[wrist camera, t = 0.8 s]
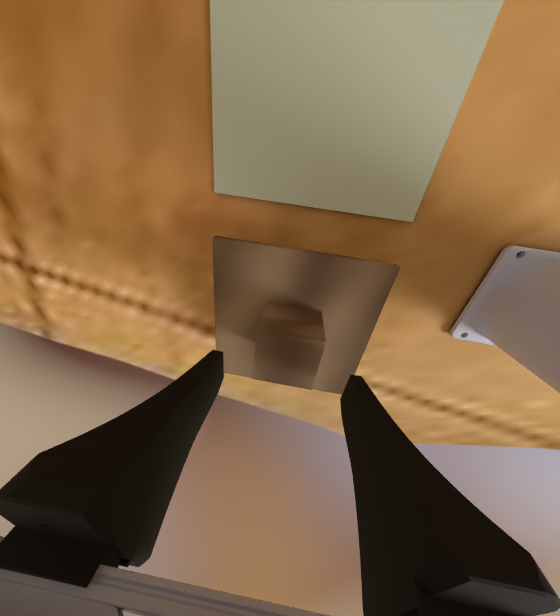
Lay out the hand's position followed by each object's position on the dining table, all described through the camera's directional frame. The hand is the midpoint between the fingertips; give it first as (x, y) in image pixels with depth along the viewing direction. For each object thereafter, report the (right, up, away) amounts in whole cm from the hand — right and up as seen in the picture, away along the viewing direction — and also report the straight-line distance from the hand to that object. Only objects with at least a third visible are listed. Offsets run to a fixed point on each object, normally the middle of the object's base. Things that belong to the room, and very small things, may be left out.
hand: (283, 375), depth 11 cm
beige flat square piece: (+3, +18, 0) cm, 18 cm away
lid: (+1, +2, +5) cm, 5 cm away
